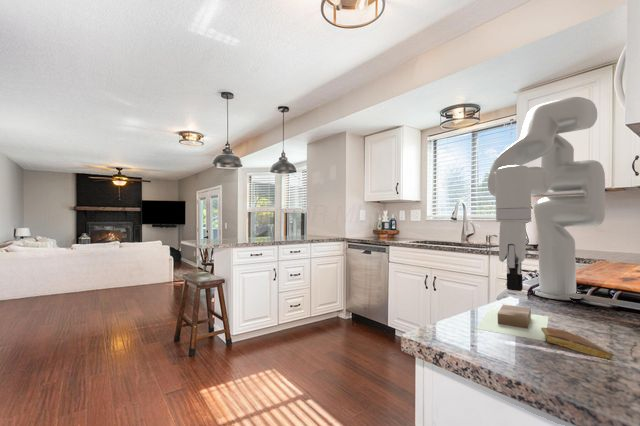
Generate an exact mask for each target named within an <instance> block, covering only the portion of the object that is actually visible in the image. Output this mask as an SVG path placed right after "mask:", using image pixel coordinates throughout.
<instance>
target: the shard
mask: <svg viewBox="0 0 640 426" xmlns="http://www.w3.org/2000/svg"><path fill="white" fill-rule="evenodd" d="M541 330H542V331H543V333H544V335H545V336H546V341H547V343H549V344H555V345H558V346H559V347H565V348H567V349H570V350H572V351H576V352H580V353H583V354H588V355H592V356H595V357H599V358H600V357H601V358H603V359H604V360H606V361H610V360H611V359H612V357H613V356H614V354H613V353H610V352H609V351H607V350H605V349H604V348H601V347H600V346H598V345H597V344H596V343H594V342H591V341H590V340H588V339H586V338H585V337H583V336H581V335H579V334H577V333H572V332H570V331H567V330H564V329H559V328H558V329H557V328H551V327H547V328H541Z"/></svg>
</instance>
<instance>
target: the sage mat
mask: <svg viewBox="0 0 640 426" xmlns="http://www.w3.org/2000/svg"><path fill="white" fill-rule="evenodd" d="M499 310H500V309H498V308H490V309H489V310H488V312H487V313H486V314H485V315H484V316H483V318H482V320H481V321H480V322H479V324H478V325H477V327H476V330H481V331H487V332H492V333H498V334H501V335H502V334H503V335H510V336H515V337H521V338H525V339H531V340H535V341H536V340H537V341H542V342H546V341H547V339H546V336H545V335H544V333H543V331H542V330H541V328H548V323H549V316H547V315H540V314H532V313H531V319H530V323H529V326H528V329H526V328H520V327H514V326H508V325H502V324H498V312H499Z"/></svg>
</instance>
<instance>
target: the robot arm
mask: <svg viewBox="0 0 640 426" xmlns="http://www.w3.org/2000/svg"><path fill="white" fill-rule="evenodd" d="M597 120H598V109H597V107H596V103H594V102H593V101H592V100H591V99H589V98H585V97H581V96H572V97H570V96H569V97H566V98H563V99H557V100H553V101H549V102H545V103H541V104H538V105H535V106H534V107H532V108H531V109H530V110H529V111H528V112H527V113H526V117H525V119H524V122H523V125H522V129H521V131H520V135H519V137H518V140H517V141H515V142H514V143H512V144H510V146H508V147H507V148H506V149H504V151H502V152H501V153H500V154H498V155H497V157H496V158H495V160H494V161H493V163H492V166H491V168H490V171H489V174H488V179H487V189H488V192H489V193H490V195H491V196H493V197H495V220H496V222H497V223H500V224H499V233H498V235H499V239H498V240H499V241H498V244H499V245H498V249H499V250H498V260H499V262H501V263H504V261H506V290H508V291H515V292H522V291H523V289H524V288H523V284H524V283H523V281H524V280H523V273H522V267H523V266H522V264H523V263H522V262H524V261H525V259H526V251H527V249H526V248H527V223H529V222H531V223H532V197H535V196H536V197H537V196H540V195H541V196H542V195H543V194H546V193H550V194H551V193H552V194H561V193H562V194H564V193H579V192H581V193H584V194H582V195H580V194H579V195H558V196H557V195H556V196H547V197H542V198H540V199H539V200H537V201H536V202H535V204H534V206H533V213H534V218H535V222H536V230H537V240H538V246H537V247H538V284H539V285H538V286H539V287H538V288H539V289H540V291H541V292H538V291H535V294H534V295H536V296H538V297H542V298H547V299H551V300H560V301H572V300H571V299H570V298H569V297H568V296H566V295H568V294H575V293H576V292H577V293H580V292H578V291H577V269H576V268H577V267H576V264H577V263H576V262H577V261H576V241H575V238H574V237H573V236H572V235H571V233H570V232H569V231H568V230H567V229H566V228H568V227H573V228H575V227H579V228H582V227H583V228H584V227H589V228H591V227H597V226H601V225H602V224H603V223H604V220H605V215H606V174H605V168H604V167H603V164H602V163H601V162H600V161H598V160H594V159H591V160H590V159H587V160H576V161H575V159H574V156H575V154H574V153H575V149H574V146H573V144H571V143H570V142H569V140H567V139H565V138H564V137H563V136H561V135H560V134H564V133H571V132H576V131H582V130H583V131H584V130H587V129H590V128H592V127H593V126H594V125H595V124H596V122H597ZM539 158H541V159H540V160H541V166H529V167H528V166H527V165H525V164H527V163H530V162H533V161H535V160H537V159H539ZM526 222H527V223H526Z"/></svg>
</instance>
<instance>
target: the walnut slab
mask: <svg viewBox="0 0 640 426" xmlns="http://www.w3.org/2000/svg"><path fill="white" fill-rule="evenodd" d="M531 310H532V309H531V307H526V306H518V305H512V304H510V305H509V304H504V303H503V304H502V306H501V307H500V309H499V312H498V324H502V325H508V326H514V327H520V328H526V329H528V326H529V323H530V319H531V314H532V313H531V312H532V311H531Z"/></svg>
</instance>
